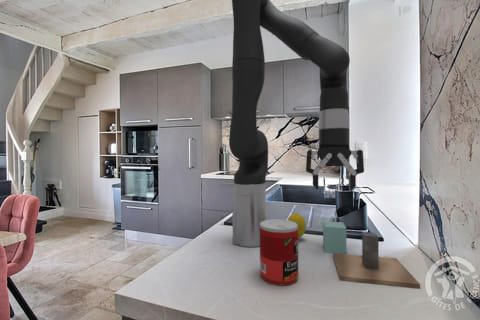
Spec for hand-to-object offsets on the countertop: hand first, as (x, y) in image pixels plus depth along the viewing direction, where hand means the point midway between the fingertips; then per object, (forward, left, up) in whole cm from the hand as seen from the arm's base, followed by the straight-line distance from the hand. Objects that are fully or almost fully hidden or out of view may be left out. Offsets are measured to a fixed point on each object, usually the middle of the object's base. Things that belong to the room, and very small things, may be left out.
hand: (333, 189), depth 65 cm
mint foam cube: (0, 0, -16) cm, 16 cm away
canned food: (-13, -18, -16) cm, 28 cm away
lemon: (-10, +6, -16) cm, 20 cm away
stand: (+6, -11, -16) cm, 20 cm away
